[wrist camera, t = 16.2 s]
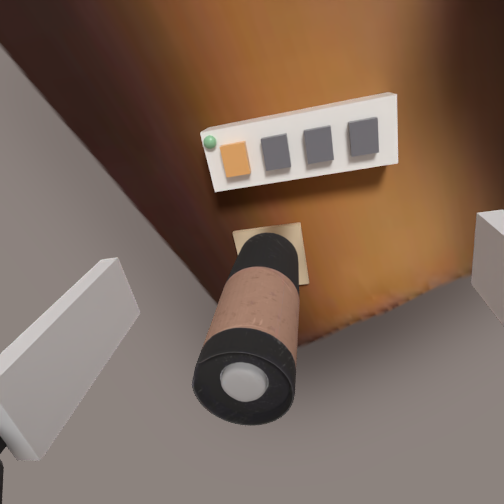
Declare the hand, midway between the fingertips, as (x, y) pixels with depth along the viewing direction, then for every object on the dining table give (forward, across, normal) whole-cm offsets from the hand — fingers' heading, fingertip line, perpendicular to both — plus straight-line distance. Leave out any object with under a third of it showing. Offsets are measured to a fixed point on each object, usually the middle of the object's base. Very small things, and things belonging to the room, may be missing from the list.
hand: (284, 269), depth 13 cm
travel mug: (+26, -5, -13) cm, 30 cm away
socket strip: (+27, 0, 0) cm, 27 cm away
